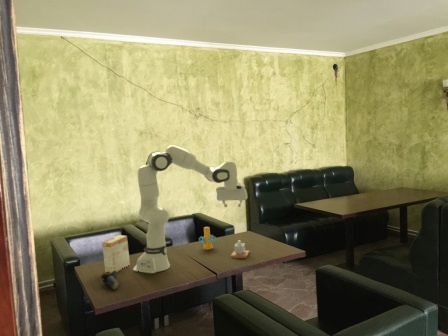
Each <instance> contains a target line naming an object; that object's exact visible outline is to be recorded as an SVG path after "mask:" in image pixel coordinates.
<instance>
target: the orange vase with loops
mask: <svg viewBox="0 0 448 336" xmlns="http://www.w3.org/2000/svg"><path fill="white" fill-rule="evenodd" d="M210 230H211V229H210V226H205V227H203V234H204V235H203V236H200V237H199V238H198V241H199V242H200V243H201V244H202V245H203V250H207V251H208V250H212V249H213V243H215V242H216V241H217V238H216V236H214V235H213V234H211V231H210Z"/></svg>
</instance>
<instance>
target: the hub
mask: <svg viewBox="0 0 448 336" xmlns="http://www.w3.org/2000/svg"><path fill="white" fill-rule="evenodd" d="M233 247H234V250H235V253H244V251H245V250H246V244H245V243H244V242H243V243H242V242H241V245H238V242H237V243H236V242H235V244H234V246H233Z"/></svg>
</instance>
